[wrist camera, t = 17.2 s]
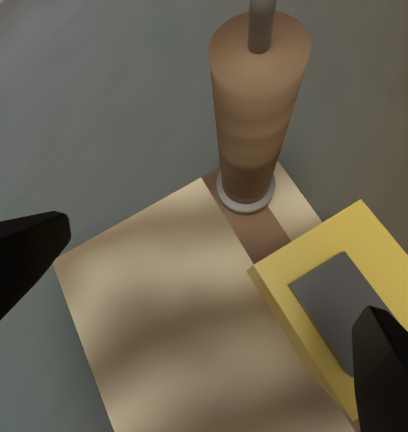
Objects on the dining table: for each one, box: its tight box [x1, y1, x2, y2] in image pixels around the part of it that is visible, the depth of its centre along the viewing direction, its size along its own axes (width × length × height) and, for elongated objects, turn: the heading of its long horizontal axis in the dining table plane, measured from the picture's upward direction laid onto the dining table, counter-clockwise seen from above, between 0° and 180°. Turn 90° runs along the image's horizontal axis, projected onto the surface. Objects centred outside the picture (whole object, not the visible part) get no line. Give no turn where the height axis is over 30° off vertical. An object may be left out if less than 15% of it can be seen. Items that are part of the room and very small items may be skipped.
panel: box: [52, 160, 360, 432], centre depth 17 cm, size 18×18×1 cm
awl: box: [209, 0, 311, 215], centre depth 12 cm, size 4×4×14 cm
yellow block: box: [247, 199, 408, 421], centre depth 13 cm, size 7×6×6 cm
